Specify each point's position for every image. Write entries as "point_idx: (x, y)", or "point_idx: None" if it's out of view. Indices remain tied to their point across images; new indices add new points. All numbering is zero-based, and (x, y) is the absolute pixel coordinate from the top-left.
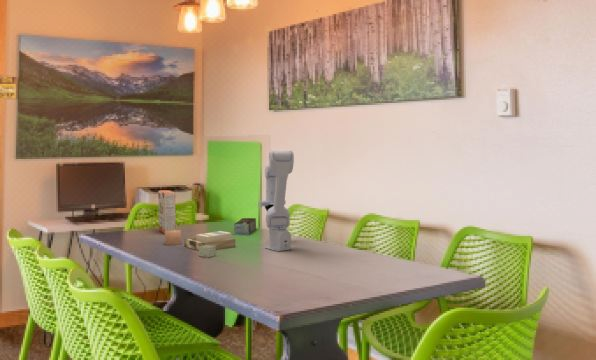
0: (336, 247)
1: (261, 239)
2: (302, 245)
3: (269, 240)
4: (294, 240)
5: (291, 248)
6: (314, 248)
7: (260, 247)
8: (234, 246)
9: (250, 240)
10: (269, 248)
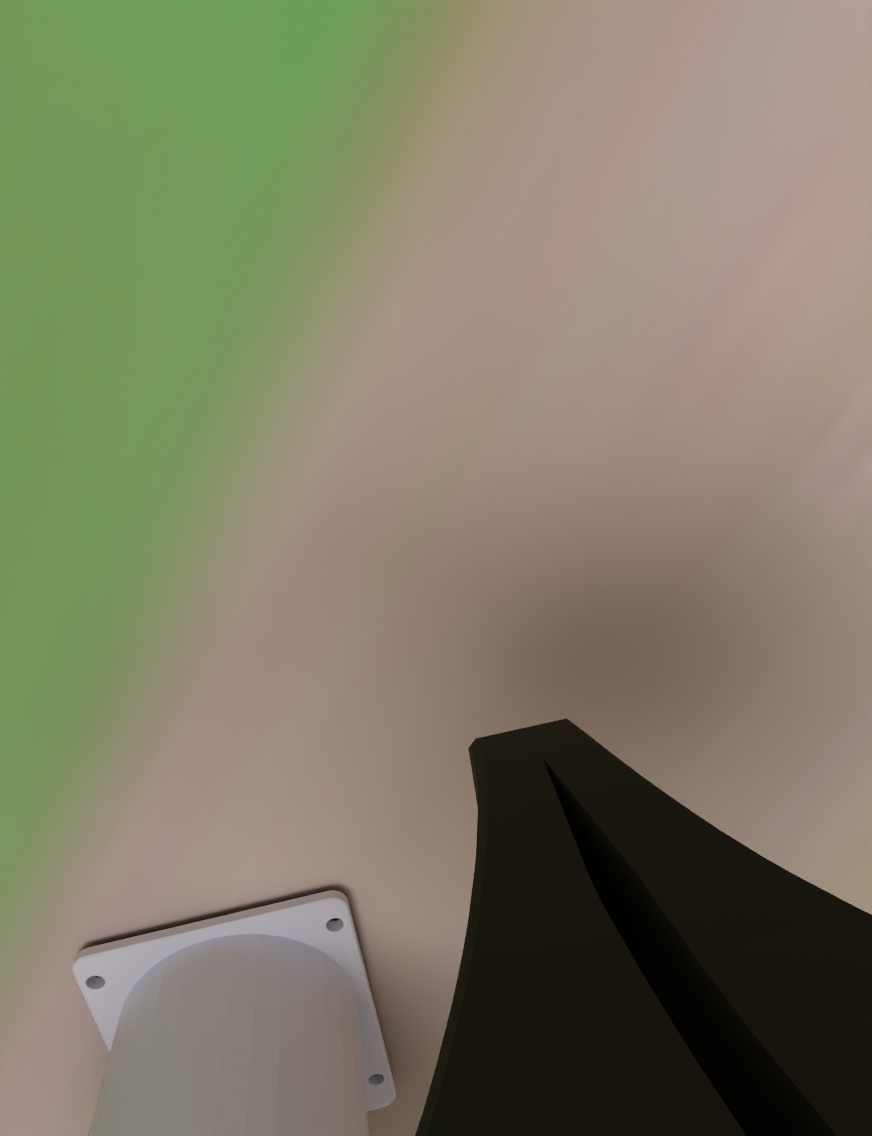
0: None
1: (381, 174)
2: None
3: (91, 1123)
4: (820, 574)
5: (379, 1106)
6: None
7: (35, 868)
8: None
9: (93, 157)
10: (104, 1040)
